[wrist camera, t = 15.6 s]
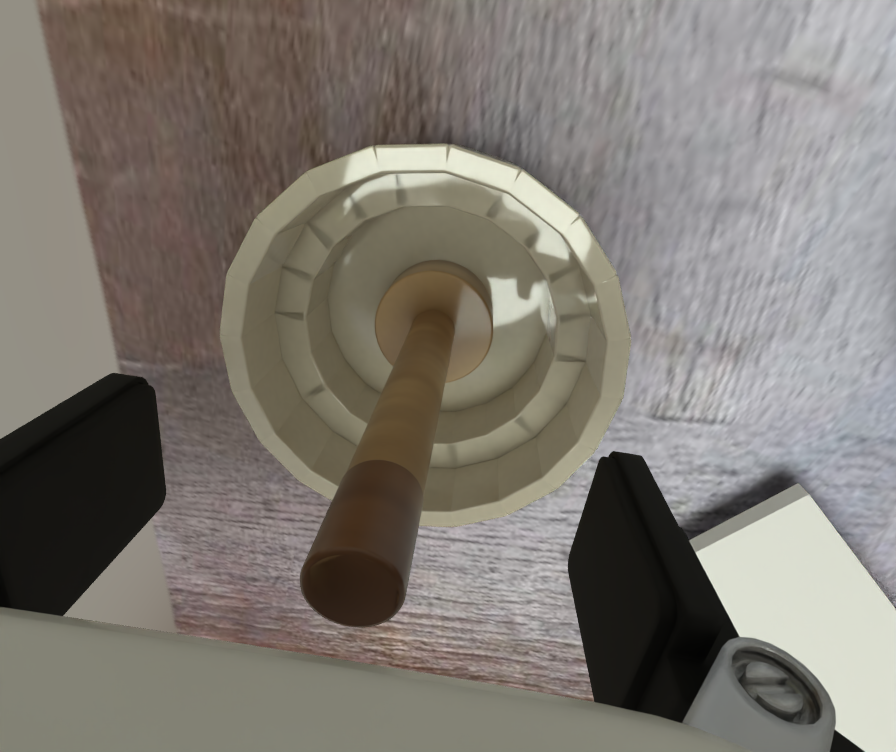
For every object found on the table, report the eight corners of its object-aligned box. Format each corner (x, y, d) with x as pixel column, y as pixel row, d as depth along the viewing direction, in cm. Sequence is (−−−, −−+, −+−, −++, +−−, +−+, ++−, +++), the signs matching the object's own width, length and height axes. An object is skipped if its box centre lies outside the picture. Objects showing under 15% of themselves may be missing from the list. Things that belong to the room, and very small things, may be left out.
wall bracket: (615, 495, 30) (860, 791, 34) (604, 592, 24) (903, 937, 28) (790, 423, 25) (1058, 785, 29) (832, 526, 19) (1164, 966, 23)
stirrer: (362, 302, 20) (149, 558, 8) (449, 236, 19) (366, 413, 6) (428, 383, 22) (340, 718, 9) (514, 326, 20) (555, 625, 8)
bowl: (230, 276, 21) (138, 321, 16) (472, 65, 17) (464, 27, 12) (414, 481, 25) (392, 576, 19) (648, 343, 21) (704, 412, 15)
